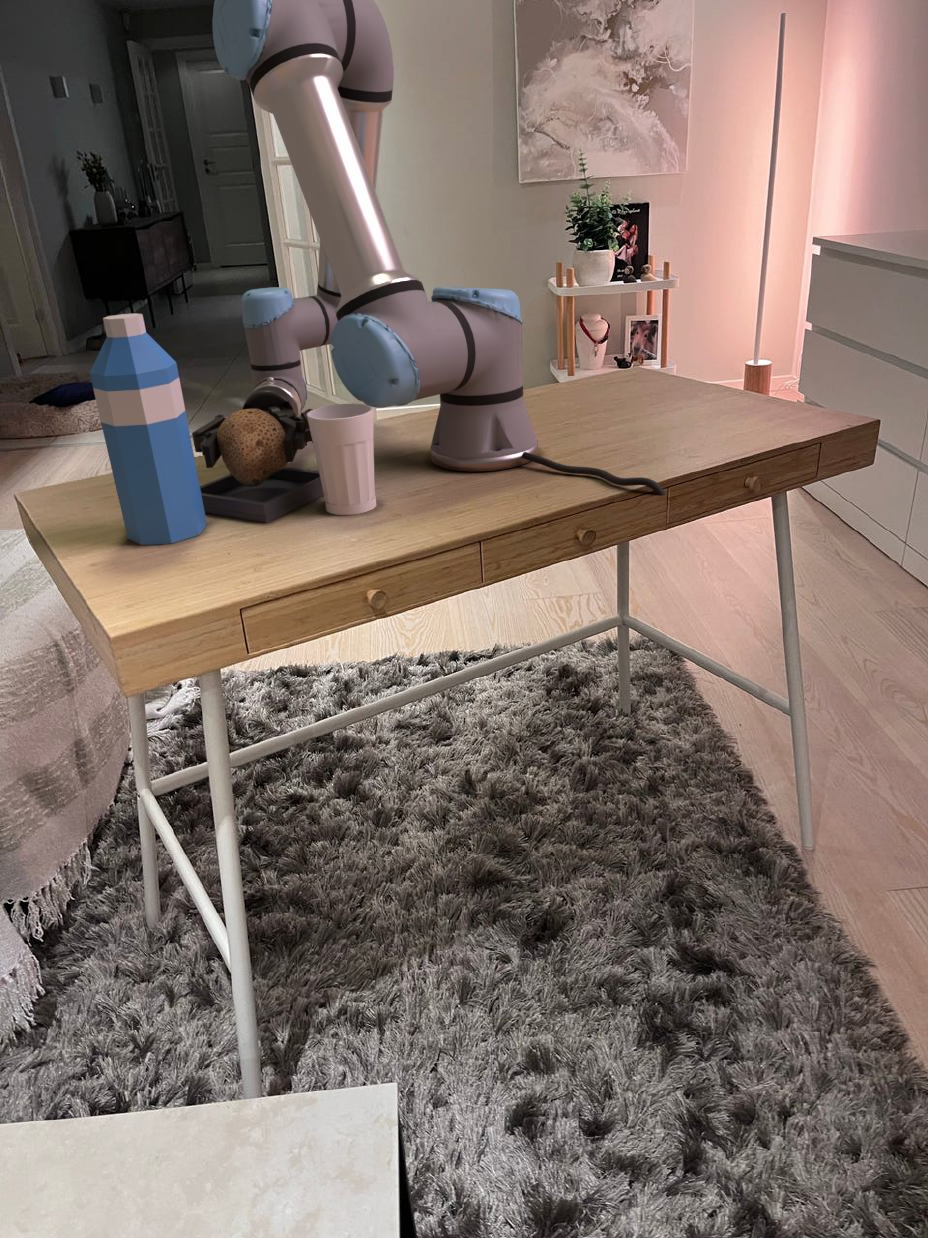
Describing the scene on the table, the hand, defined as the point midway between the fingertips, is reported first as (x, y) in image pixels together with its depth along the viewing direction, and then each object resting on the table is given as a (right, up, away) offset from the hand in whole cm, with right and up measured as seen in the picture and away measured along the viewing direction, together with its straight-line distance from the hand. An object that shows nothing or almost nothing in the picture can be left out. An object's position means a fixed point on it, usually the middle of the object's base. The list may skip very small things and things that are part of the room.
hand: (247, 454), depth 115 cm
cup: (+12, -6, +2) cm, 14 cm away
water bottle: (-9, -10, -2) cm, 14 cm away
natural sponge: (0, -4, +4) cm, 6 cm away
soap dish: (0, -5, +7) cm, 9 cm away
